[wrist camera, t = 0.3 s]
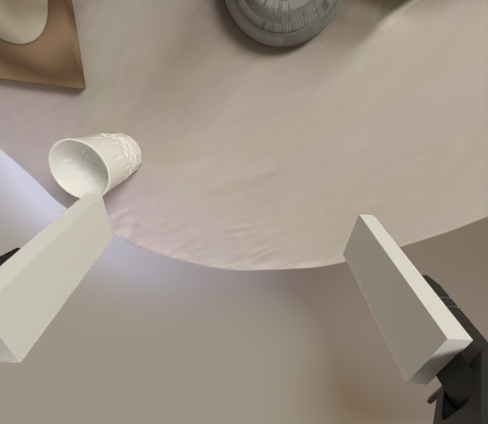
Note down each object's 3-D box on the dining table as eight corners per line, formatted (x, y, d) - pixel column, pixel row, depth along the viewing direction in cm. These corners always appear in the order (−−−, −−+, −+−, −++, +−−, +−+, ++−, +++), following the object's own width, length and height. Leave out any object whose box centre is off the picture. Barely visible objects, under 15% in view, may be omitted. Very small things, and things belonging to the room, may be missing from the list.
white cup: (150, 139, 38) (113, 153, 29) (141, 184, 42) (106, 208, 33) (101, 120, 38) (48, 128, 29) (96, 166, 41) (47, 186, 32)
